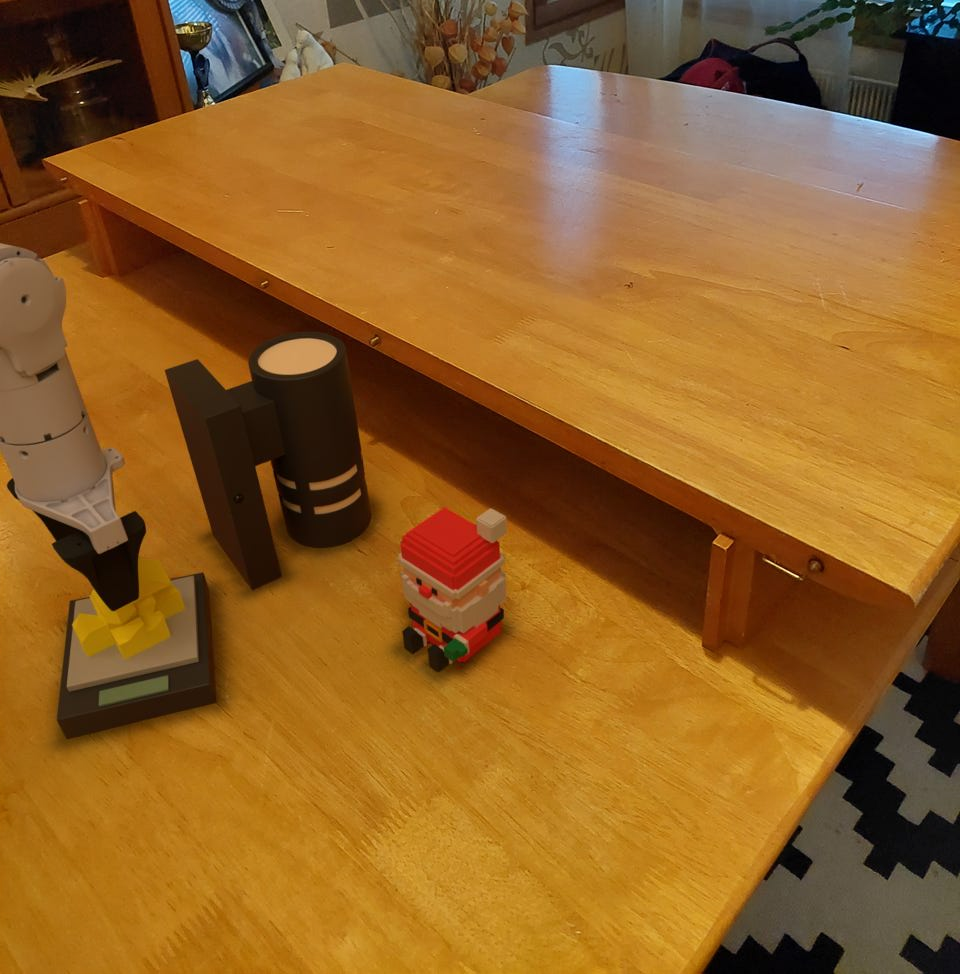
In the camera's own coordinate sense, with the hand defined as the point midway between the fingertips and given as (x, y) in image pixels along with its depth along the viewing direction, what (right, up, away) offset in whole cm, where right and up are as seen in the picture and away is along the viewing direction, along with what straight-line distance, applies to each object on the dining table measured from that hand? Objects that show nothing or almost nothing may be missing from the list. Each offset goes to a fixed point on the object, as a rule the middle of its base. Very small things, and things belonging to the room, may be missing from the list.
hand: (102, 575), depth 68 cm
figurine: (+26, -6, +7) cm, 27 cm away
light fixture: (+11, +2, +18) cm, 22 cm away
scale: (0, -7, +7) cm, 10 cm away
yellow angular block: (0, -5, +6) cm, 7 cm away
